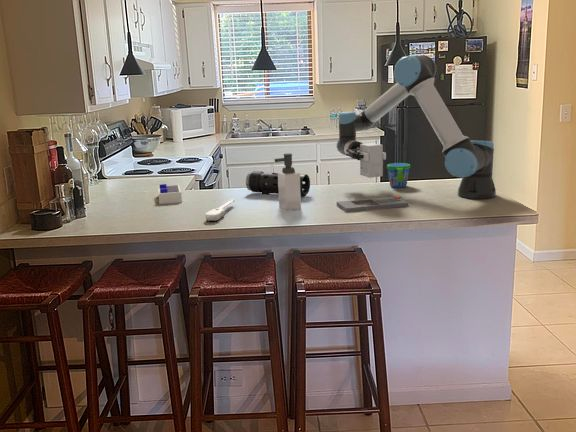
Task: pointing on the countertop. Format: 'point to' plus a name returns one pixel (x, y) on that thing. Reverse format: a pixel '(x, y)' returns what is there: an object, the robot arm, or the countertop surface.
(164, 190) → the cable clip
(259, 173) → the muzzle brake
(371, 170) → the small box
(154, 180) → the countertop surface
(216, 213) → the white spoon
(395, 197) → the socket strip
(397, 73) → the robot arm
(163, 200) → the box
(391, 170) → the snack cup
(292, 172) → the soap dispenser
